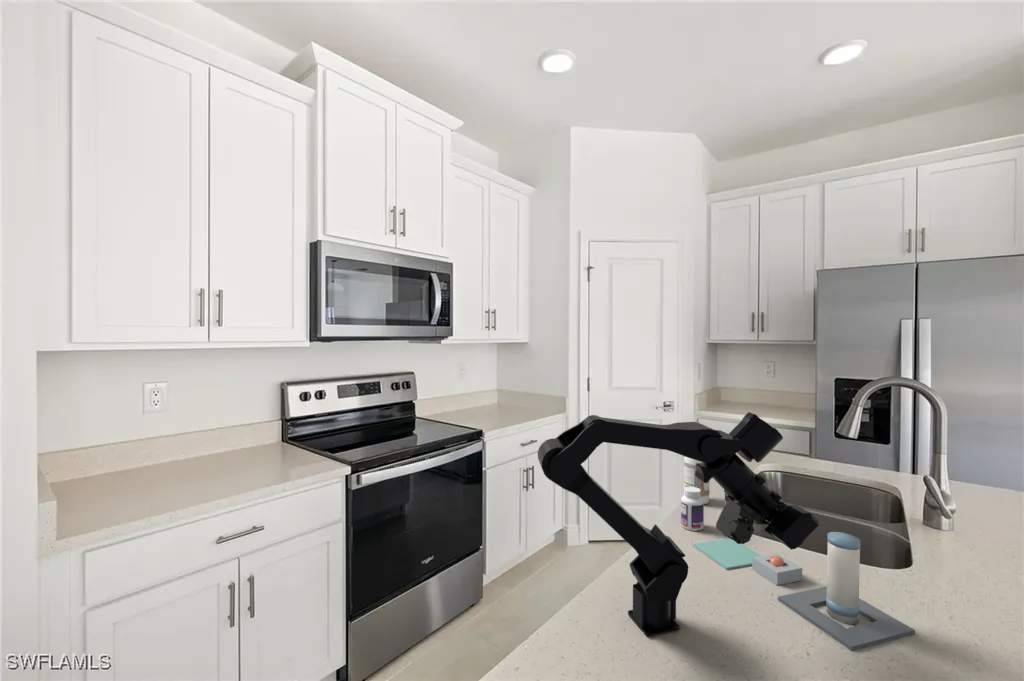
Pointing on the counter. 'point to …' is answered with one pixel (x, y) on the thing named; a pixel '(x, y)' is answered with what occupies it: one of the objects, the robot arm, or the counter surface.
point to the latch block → (777, 569)
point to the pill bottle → (692, 509)
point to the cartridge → (843, 577)
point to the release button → (776, 561)
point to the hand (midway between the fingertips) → (798, 541)
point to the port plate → (849, 637)
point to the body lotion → (695, 479)
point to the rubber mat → (727, 553)
